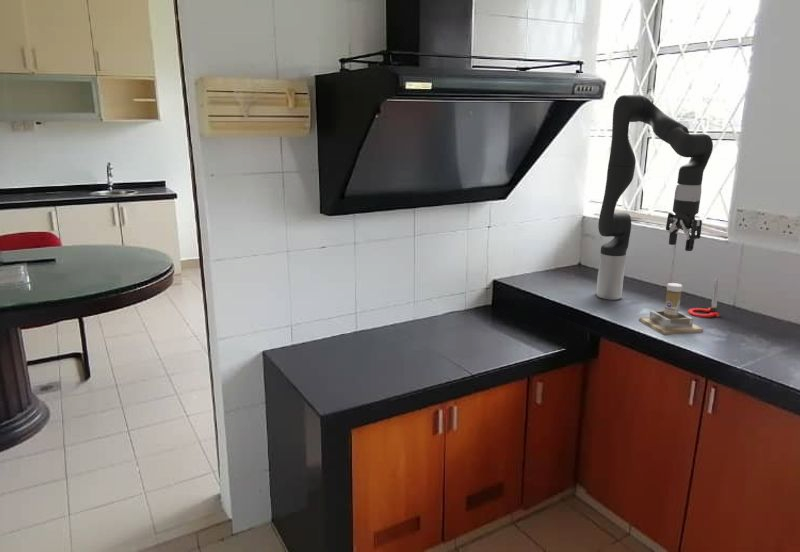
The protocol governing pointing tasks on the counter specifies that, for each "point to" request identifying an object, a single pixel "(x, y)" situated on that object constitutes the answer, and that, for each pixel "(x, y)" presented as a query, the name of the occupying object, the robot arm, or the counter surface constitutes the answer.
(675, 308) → the sprinkles bottle
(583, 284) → the counter surface
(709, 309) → the tow hook
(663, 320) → the keeper
